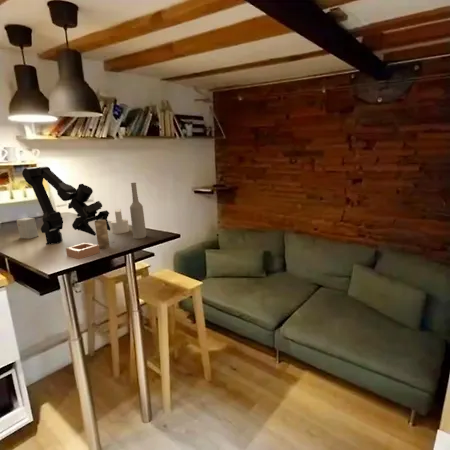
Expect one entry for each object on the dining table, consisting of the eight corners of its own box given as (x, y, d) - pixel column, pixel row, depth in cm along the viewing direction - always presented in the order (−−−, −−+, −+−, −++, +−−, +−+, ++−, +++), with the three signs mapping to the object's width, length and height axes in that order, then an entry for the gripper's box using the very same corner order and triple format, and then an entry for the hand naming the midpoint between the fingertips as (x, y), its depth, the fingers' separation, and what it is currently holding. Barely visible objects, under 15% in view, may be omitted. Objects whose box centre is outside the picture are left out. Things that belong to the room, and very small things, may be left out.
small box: (38, 236, 188) (35, 217, 185) (29, 239, 183) (25, 220, 180) (29, 235, 191) (25, 217, 189) (19, 238, 186) (15, 219, 184)
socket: (79, 259, 143) (77, 251, 142) (66, 255, 149) (65, 248, 148) (99, 252, 151) (98, 245, 150) (87, 249, 157) (86, 242, 156)
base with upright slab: (129, 232, 185) (126, 211, 182) (112, 234, 182) (109, 212, 180) (128, 228, 193) (126, 208, 190) (112, 230, 191) (109, 210, 188)
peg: (97, 249, 155) (93, 222, 152) (99, 246, 160) (95, 220, 157) (109, 248, 156) (105, 221, 153) (110, 245, 161) (106, 219, 158)
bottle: (139, 234, 178) (133, 182, 172) (149, 235, 175) (143, 182, 168) (130, 238, 173) (123, 183, 166) (140, 239, 169) (133, 183, 163)
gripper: (72, 200, 147) (95, 225, 144) (103, 193, 163) (124, 216, 161) (62, 217, 152) (84, 242, 150) (93, 209, 168) (114, 231, 166)
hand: (102, 232), depth 156 cm, fingers open, 9 cm apart
